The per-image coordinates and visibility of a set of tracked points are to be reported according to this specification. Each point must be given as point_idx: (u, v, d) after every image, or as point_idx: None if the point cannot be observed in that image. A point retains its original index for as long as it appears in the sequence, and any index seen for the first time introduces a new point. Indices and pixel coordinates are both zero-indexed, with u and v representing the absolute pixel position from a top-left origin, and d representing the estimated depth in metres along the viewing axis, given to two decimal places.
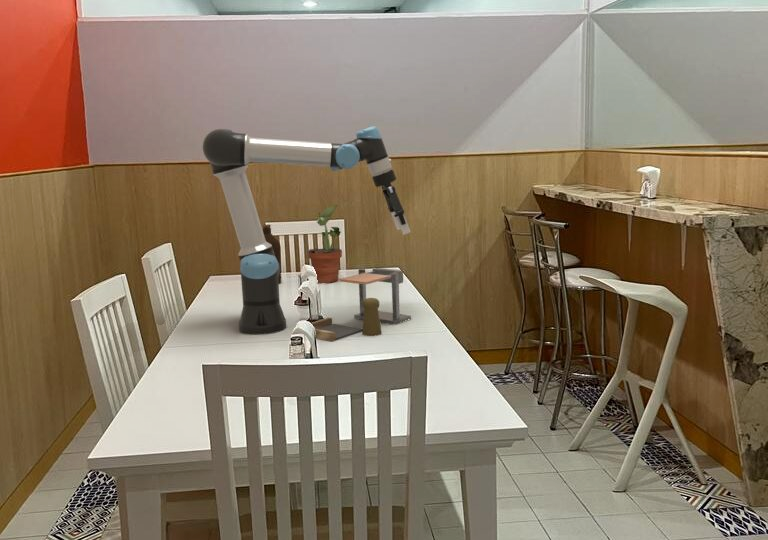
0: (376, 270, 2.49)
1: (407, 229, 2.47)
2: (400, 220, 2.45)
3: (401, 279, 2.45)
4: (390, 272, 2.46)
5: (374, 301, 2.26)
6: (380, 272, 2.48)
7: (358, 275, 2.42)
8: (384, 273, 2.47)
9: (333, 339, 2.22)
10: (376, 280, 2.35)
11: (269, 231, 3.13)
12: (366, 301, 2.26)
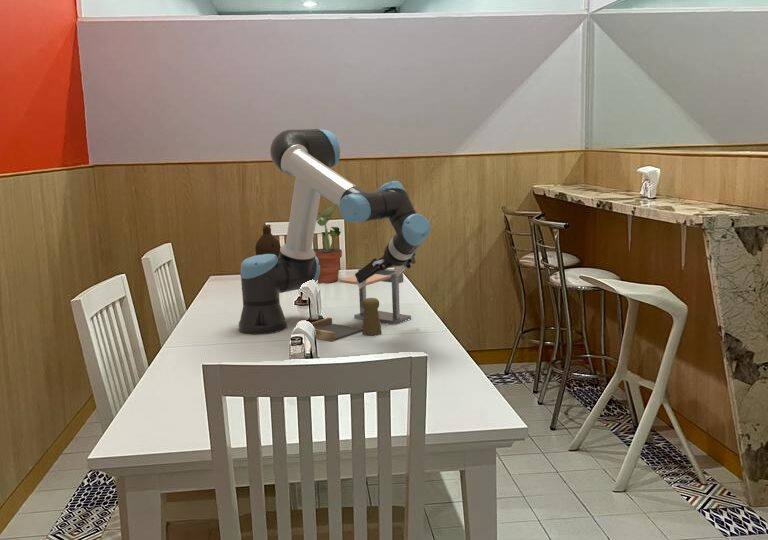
0: None
1: (359, 285, 2.26)
2: None
3: (401, 279, 2.45)
4: (390, 272, 2.46)
5: (374, 301, 2.26)
6: (380, 272, 2.48)
7: None
8: (384, 273, 2.47)
9: (333, 339, 2.22)
10: (376, 281, 2.35)
11: (269, 231, 3.13)
12: (366, 301, 2.26)
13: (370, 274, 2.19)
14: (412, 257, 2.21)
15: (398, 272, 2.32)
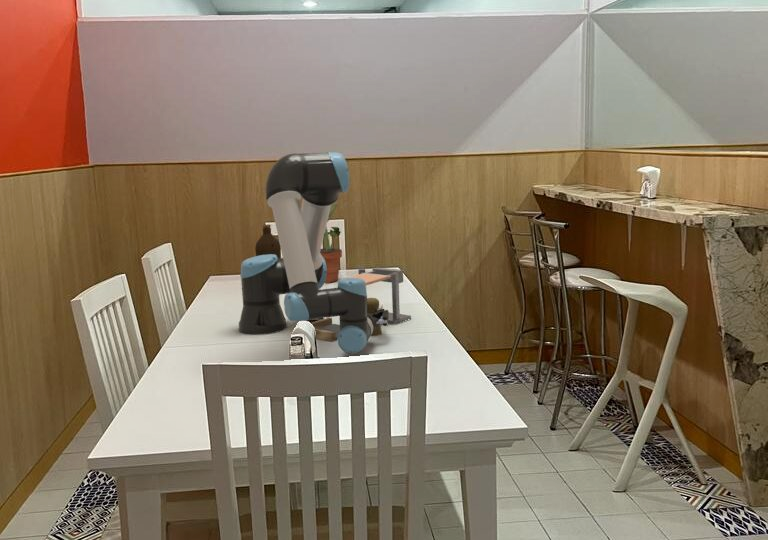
0: (376, 270, 2.49)
1: None
2: None
3: (401, 279, 2.45)
4: (390, 272, 2.46)
5: (374, 301, 2.26)
6: (380, 272, 2.48)
7: (358, 275, 2.43)
8: (384, 273, 2.47)
9: (333, 339, 2.22)
10: (376, 281, 2.35)
11: (269, 231, 3.13)
12: None
13: None
14: None
15: None
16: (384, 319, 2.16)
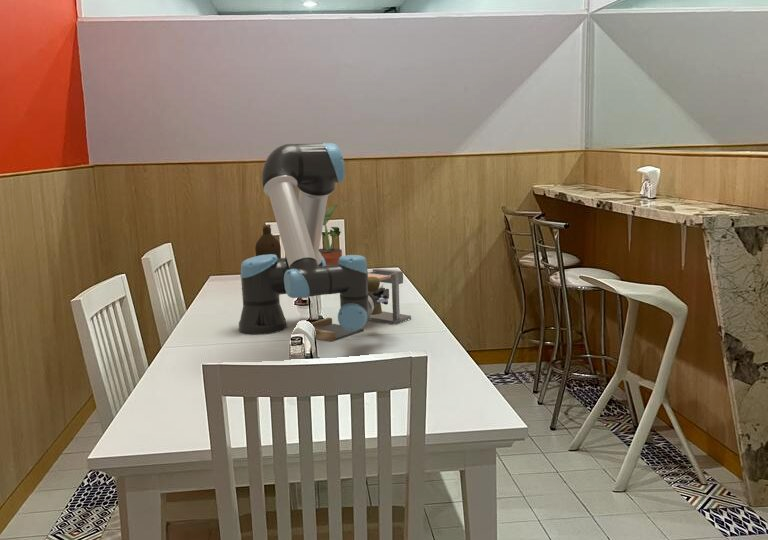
0: (376, 270, 2.49)
1: None
2: None
3: (401, 280, 2.45)
4: (390, 272, 2.46)
5: (375, 280, 2.24)
6: (380, 272, 2.48)
7: None
8: (384, 273, 2.47)
9: (333, 339, 2.22)
10: None
11: (269, 231, 3.13)
12: None
13: None
14: None
15: None
16: (385, 297, 2.14)
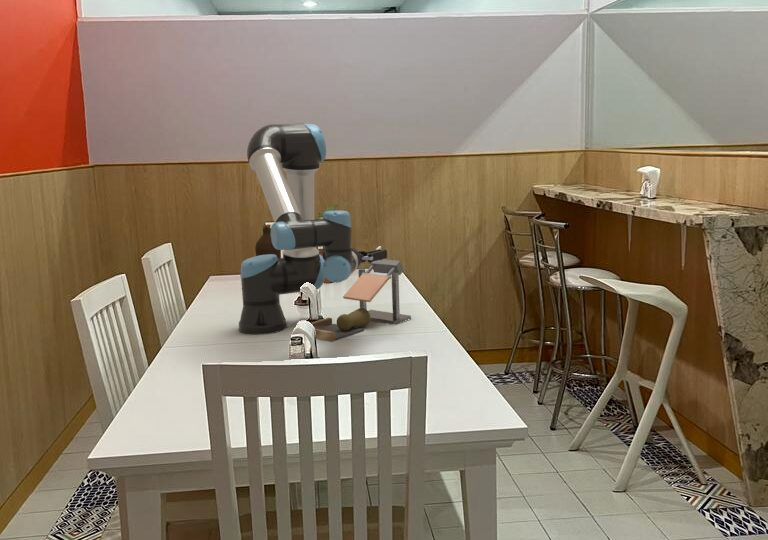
0: (374, 264, 2.48)
1: None
2: None
3: (401, 269, 2.45)
4: (388, 265, 2.44)
5: (347, 326, 2.29)
6: (378, 265, 2.47)
7: (359, 281, 2.43)
8: (383, 266, 2.46)
9: (333, 339, 2.22)
10: (378, 290, 2.36)
11: (269, 231, 3.13)
12: (342, 330, 2.30)
13: None
14: None
15: None
16: (368, 256, 2.21)
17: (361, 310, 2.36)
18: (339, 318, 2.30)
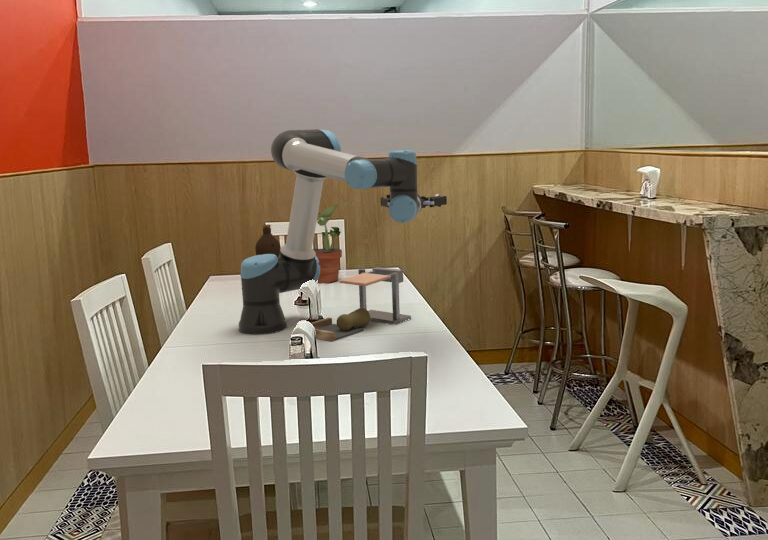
0: (376, 269, 2.49)
1: None
2: None
3: (401, 278, 2.45)
4: (390, 271, 2.46)
5: (347, 326, 2.29)
6: (380, 271, 2.48)
7: (358, 276, 2.43)
8: (384, 272, 2.47)
9: (333, 339, 2.22)
10: (376, 281, 2.35)
11: (269, 231, 3.13)
12: (342, 330, 2.30)
13: None
14: None
15: None
16: (430, 200, 2.18)
17: (361, 310, 2.36)
18: (339, 318, 2.30)
